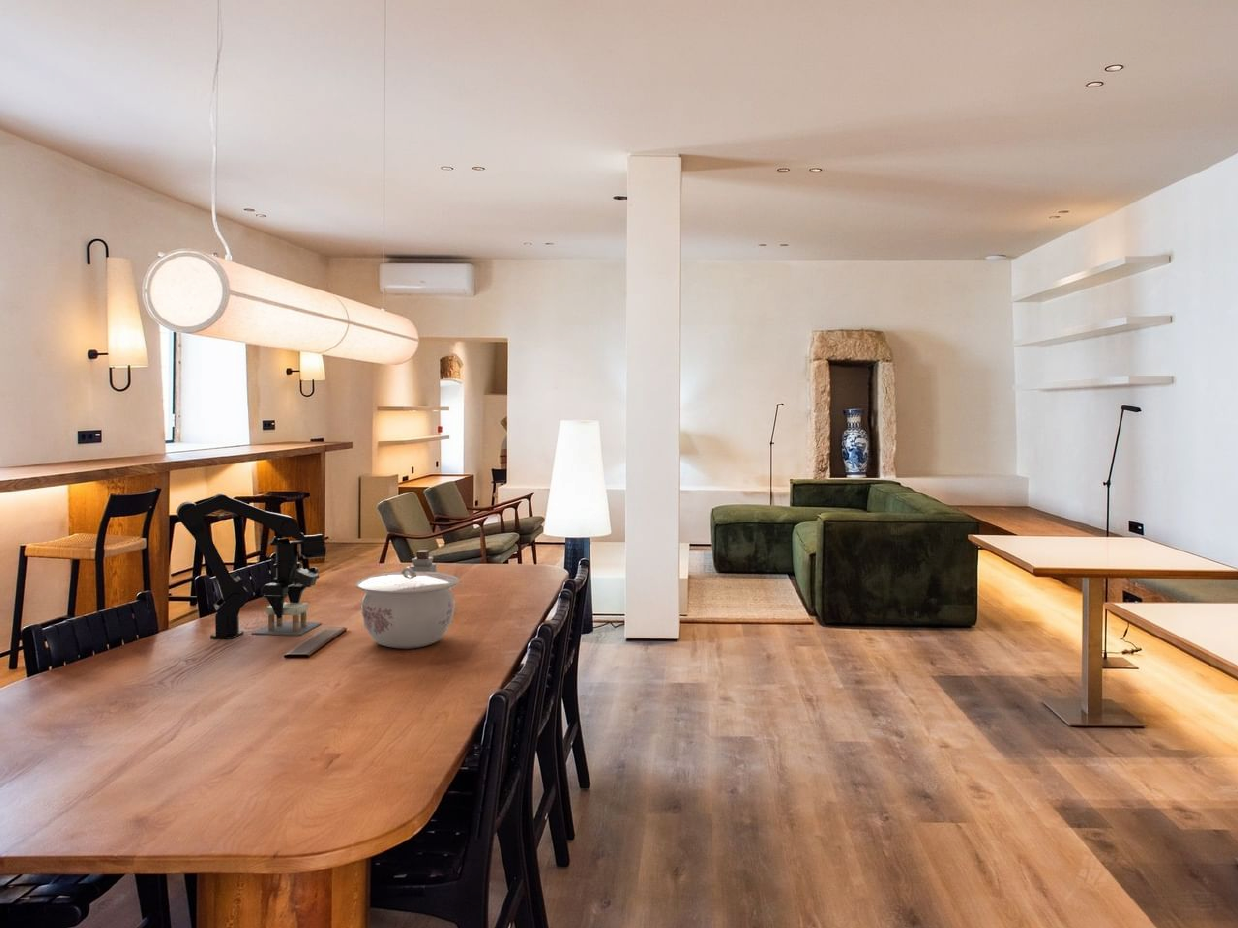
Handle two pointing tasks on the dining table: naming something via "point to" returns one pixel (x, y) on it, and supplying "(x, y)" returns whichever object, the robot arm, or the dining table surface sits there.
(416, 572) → the chamber pot
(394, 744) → the dining table surface
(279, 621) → the stool
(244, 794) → the dining table surface
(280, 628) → the felt pad
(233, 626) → the robot arm
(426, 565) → the perfume bottle
